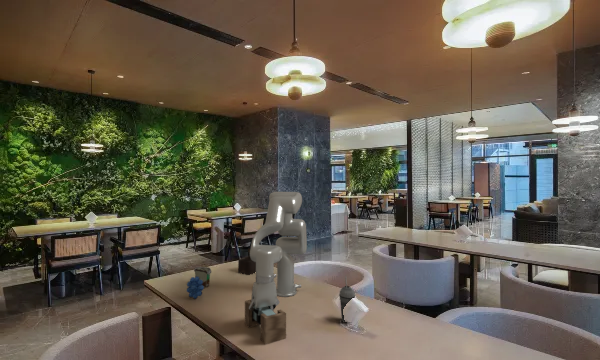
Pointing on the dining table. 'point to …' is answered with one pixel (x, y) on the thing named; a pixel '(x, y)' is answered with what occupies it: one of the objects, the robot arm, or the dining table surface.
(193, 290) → the grapes
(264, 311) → the rail
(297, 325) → the dining table surface
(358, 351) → the dining table surface
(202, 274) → the food container
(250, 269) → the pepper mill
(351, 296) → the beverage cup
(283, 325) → the notched wooden uprights
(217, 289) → the dining table surface
